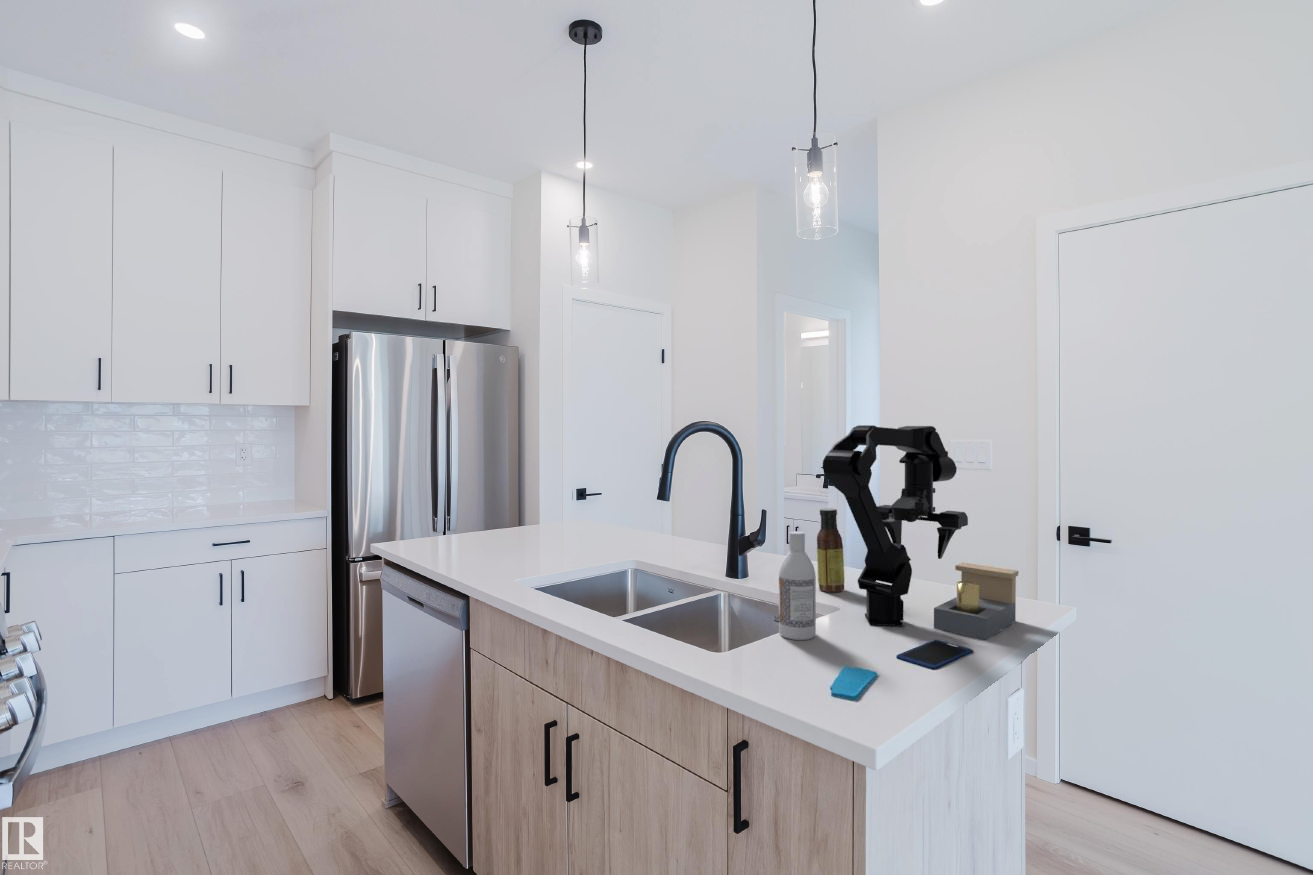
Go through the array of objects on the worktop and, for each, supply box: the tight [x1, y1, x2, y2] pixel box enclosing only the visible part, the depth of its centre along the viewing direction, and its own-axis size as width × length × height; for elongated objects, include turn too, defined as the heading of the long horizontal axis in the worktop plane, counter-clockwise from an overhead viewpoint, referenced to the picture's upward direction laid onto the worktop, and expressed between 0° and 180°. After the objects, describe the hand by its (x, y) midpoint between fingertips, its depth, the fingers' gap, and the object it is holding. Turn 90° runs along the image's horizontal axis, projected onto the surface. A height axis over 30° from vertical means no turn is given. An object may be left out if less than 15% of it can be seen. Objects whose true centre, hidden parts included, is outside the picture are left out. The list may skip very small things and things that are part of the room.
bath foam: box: [778, 530, 817, 641], centre depth 126 cm, size 7×7×20 cm
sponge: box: [829, 666, 878, 701], centre depth 103 cm, size 2×12×6 cm
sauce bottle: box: [816, 507, 845, 594], centre depth 159 cm, size 7×6×20 cm
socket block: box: [933, 562, 1019, 641], centre depth 132 cm, size 16×11×10 cm
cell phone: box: [895, 639, 974, 671], centre depth 115 cm, size 7×14×1 cm, turn 128°
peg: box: [956, 580, 979, 615], centre depth 129 cm, size 4×4×8 cm
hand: (918, 555), depth 141 cm, fingers open, 9 cm apart
